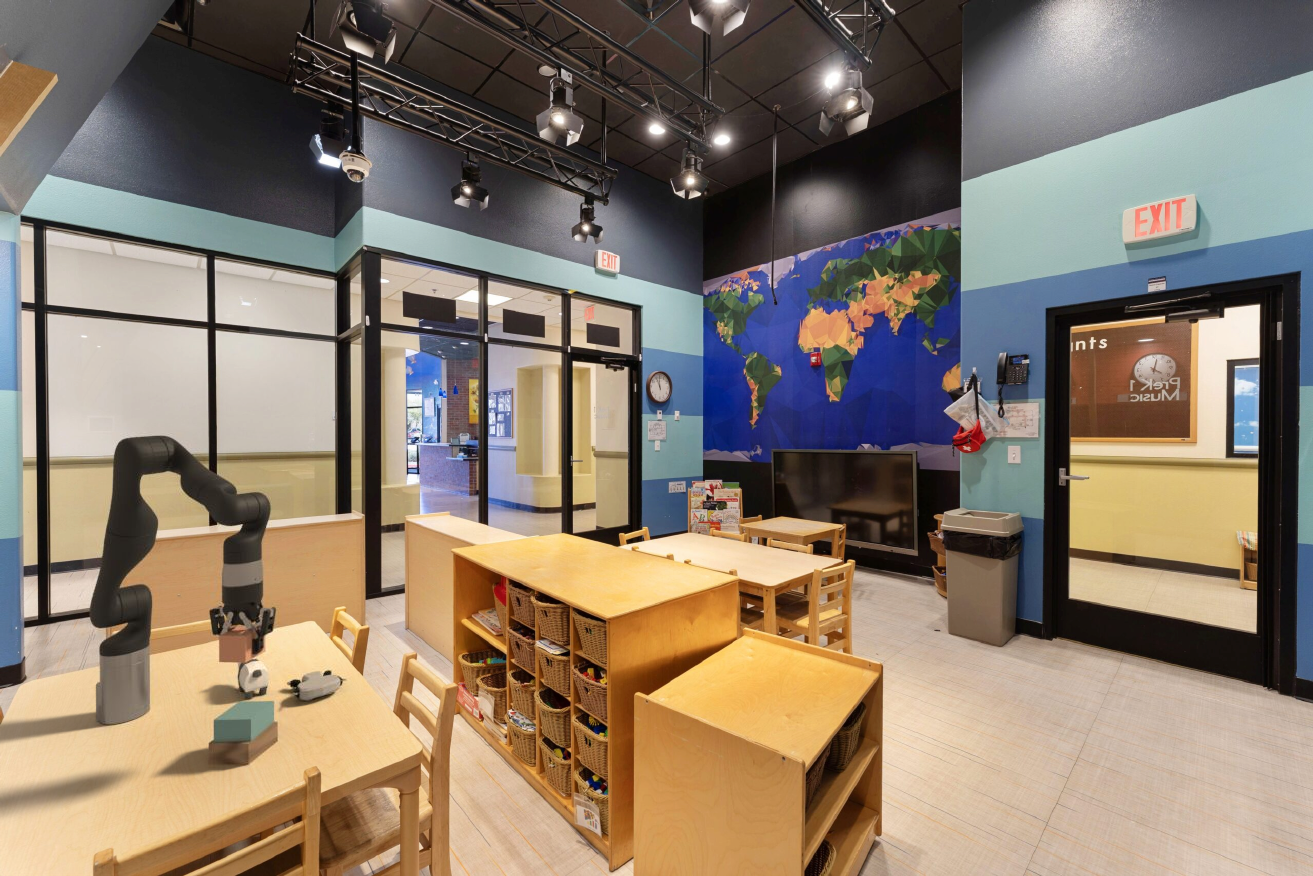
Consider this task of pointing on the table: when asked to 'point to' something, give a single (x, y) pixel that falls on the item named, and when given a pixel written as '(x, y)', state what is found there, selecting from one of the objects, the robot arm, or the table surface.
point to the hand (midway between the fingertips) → (243, 652)
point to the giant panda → (252, 678)
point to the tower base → (243, 748)
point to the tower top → (243, 721)
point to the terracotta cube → (237, 646)
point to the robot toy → (316, 685)
